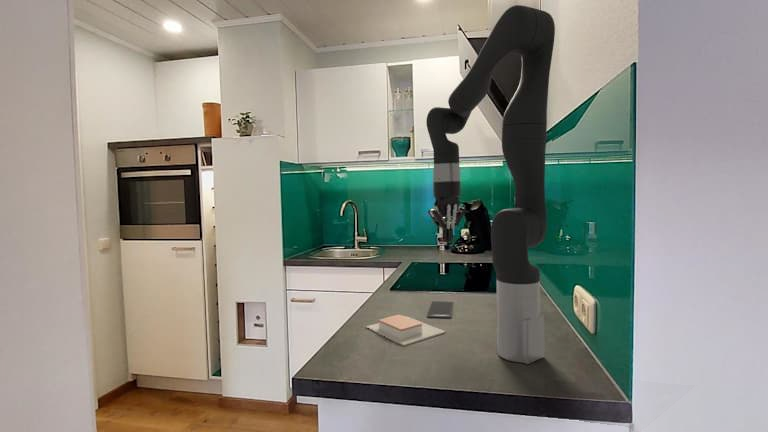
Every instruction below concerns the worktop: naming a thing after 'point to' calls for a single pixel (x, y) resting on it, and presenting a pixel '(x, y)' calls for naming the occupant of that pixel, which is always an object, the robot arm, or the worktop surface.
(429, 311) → the smartphone
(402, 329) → the block
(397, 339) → the mat
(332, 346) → the worktop surface
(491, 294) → the worktop surface
